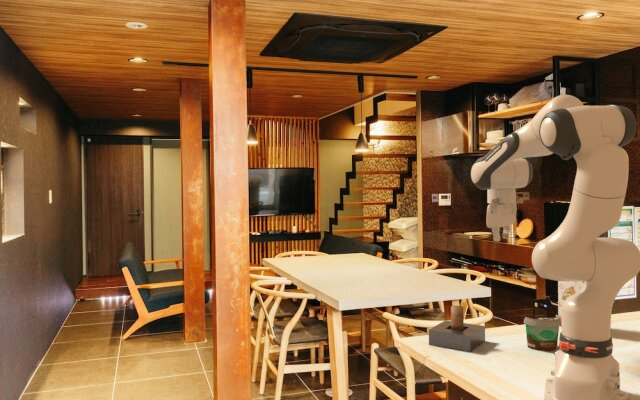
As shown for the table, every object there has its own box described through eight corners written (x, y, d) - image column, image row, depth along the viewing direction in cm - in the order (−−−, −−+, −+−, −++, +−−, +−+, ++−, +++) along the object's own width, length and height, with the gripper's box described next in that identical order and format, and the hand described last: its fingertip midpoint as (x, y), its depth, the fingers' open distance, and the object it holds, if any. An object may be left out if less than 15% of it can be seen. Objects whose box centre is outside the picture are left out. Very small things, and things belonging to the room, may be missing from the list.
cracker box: (557, 325, 195) (557, 268, 194) (570, 323, 197) (570, 267, 196) (587, 335, 182) (587, 274, 181) (600, 333, 184) (600, 273, 183)
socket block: (470, 352, 166) (470, 336, 165) (428, 344, 174) (428, 329, 174) (485, 340, 177) (485, 326, 177) (445, 334, 185) (445, 320, 185)
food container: (535, 353, 163) (535, 321, 163) (523, 347, 169) (523, 316, 169) (570, 350, 166) (570, 319, 165) (557, 344, 172) (557, 314, 171)
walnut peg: (461, 345, 173) (460, 308, 172) (449, 343, 175) (449, 307, 175) (465, 342, 176) (465, 306, 175) (453, 340, 178) (453, 305, 178)
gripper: (501, 199, 164) (501, 243, 164) (519, 197, 180) (519, 237, 181) (481, 199, 168) (481, 242, 168) (501, 197, 184) (501, 236, 185)
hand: (501, 239), depth 175 cm, fingers open, 8 cm apart
